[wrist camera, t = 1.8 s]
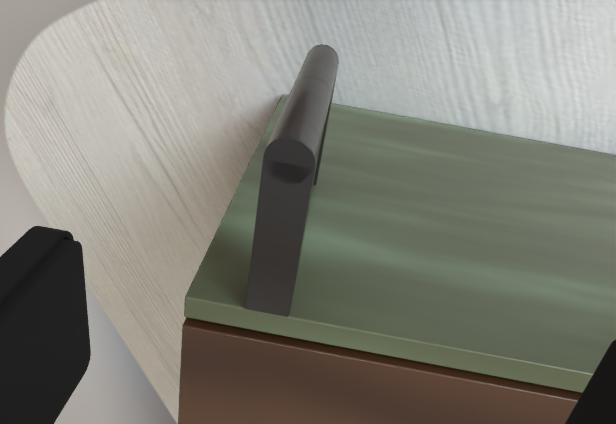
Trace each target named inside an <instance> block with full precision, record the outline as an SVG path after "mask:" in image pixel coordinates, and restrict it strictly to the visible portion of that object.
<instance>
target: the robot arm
mask: <svg viewBox="0 0 616 424" xmlns="http://www.w3.org/2000/svg"><path fill="white" fill-rule="evenodd" d="M89 361H90V339H89V326H88V315H87V303H86V290H85V278H84V265H83V253H82V246H81V244H80V242H78V241H74V240H73V236H72V234H71V233H70V232H68V231H64V230H58V229H53V228H47V227H41V226H35V227H32V228H31V229H30V230H28V231H27V232H26V233H25V234H24V235H23V236H22V237H21V238H20V239H19V240H18V241H17V242H16V243H15V244H14V245H13V246H12V247H10V248H9V249H8V250H7V251H6V252H5V253H4V254H3V255H2V256H1V257H0V424H54V422H55V421H56V419H57V417H58V416H59V414H60V413H61V411H62V409H63V408H64V405H65V404H66V403H67V401H68V400H69V398H70V396H71V395H72V393H73V391H74V390H75V388H76V387H77V385H78V383H79V382H80V380H81V379H82V377H83V375H84V374H85V372H86V370H87V367H88V364H89ZM565 424H616V340H614V341H613V342H612V343H611V344H610V346H609V348H608V349H607V351H606V353H605V355H604V356H603V358H602V360H601V362H600V363H599V365H598V367H597V369H596V370H595V372H594V374H593V376H592V377H591V379H590V381H589V382H588V384H587V386H586V388H585V389H584V391H583V393H582V395H581V396H580V398H579V400H578V402H577V403H576V405H575V407H574V409H573V410H572V412H571V414H570V416H569V417H568V419H567V421H566V423H565Z"/></svg>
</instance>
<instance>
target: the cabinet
mask: <svg viewBox="0 0 616 424" xmlns="http://www.w3.org/2000/svg"><path fill="white" fill-rule="evenodd" d="M581 395H582V393H581V392H575V391H570V390H565V389H560V388H554V387H549V386H544V385H539V384H533V383H528V382H523V381H518V380H512V379H507V378H502V377H497V376H491V375H486V374H481V373H476V372H470V371H465V370H460V369H455V368H449V367H444V366H439V365H434V364H428V363H423V362H418V361H413V360H407V359H402V358H397V357H392V356H386V355H381V354H376V353H371V352H366V351H360V350H355V349H350V348H345V347H339V346H334V345H329V344H324V343H318V342H313V341H308V340H303V339H297V338H292V337H287V336H282V335H276V334H271V333H266V332H261V331H255V330H250V329H245V328H240V327H234V326H229V325H224V324H219V323H213V322H208V321H203V320H198V319H192V318H187V317H186V319H185V322H184V324H183V328H182V350H181V372H180V395H179V417H178V424H565V423H566V421H567V419H568V417H569V416H570V414H571V412H572V410H573V409H574V407H575V405H576V403H577V402H578V400H579V398H580V396H581Z"/></svg>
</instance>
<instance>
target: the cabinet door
mask: <svg viewBox="0 0 616 424" xmlns="http://www.w3.org/2000/svg"><path fill="white" fill-rule="evenodd" d="M338 64H339V59H338V55H337V53H336V51H335V50H334V49H333V48H332V47H330V46H328V45H323V44H321V45H316V46H314V47H313V48H312V49H311V50H310V51H309V52H308V54H307V56H306V59H305V61H304V63H303V65H302V68H301V70H300V72H299V74H298V77H297V79H296V81H295V83H294V86H293V88H292V90H291V92H290V95H284V94H283V95H282V96H281V98H280V101H279V103H278V105H277V107H276V109H275V111H274V113H273V115H272V117H271V119H270V121H269V123H268V126H267V128H266V130H265V132H264V134H263V136H262V138H261V140H260V142H259V144H258V146H257V148H256V151H255V153H254V155H253V157H252V159H251V161H250V163H249V165H248V167H247V169H246V171H245V173H244V176H243V178H242V180H241V182H240V184H239V186H238V188H237V190H236V192H235V194H234V196H233V198H232V201H231V203H230V205H229V207H228V209H227V211H226V213H225V215H224V217H223V219H222V221H221V223H220V226H219V228H218V230H217V232H216V234H215V236H214V238H213V240H212V242H211V244H210V246H209V248H208V250H207V253H206V255H205V257H204V259H203V261H202V263H201V265H200V267H199V269H198V271H197V273H196V275H195V278H194V280H193V282H192V284H191V286H190V288H189V290H188V292H187V294H186V296H185V310H184V316H185V317H187V318H192V319H198V320H203V321H208V322H213V323H219V324H224V325H229V326H234V327H240V328H245V329H250V330H255V331H261V332H266V333H271V334H276V335H282V336H287V337H292V338H297V339H303V340H308V341H313V342H318V343H324V344H329V345H334V346H339V347H345V348H350V349H355V350H360V351H366V352H371V353H376V354H381V355H386V356H392V357H397V358H402V359H407V360H413V361H418V362H423V363H428V364H434V365H439V366H444V367H449V368H455V369H460V370H465V371H470V372H476V373H481V374H486V375H491V376H497V377H502V378H507V379H512V380H518V381H523V382H528V383H533V384H539V385H544V386H549V387H554V388H560V389H565V390H570V391H575V392H581V393H583V391H584V389H585V388H586V386H587V384H588V382H589V381H590V379H591V377H592V376H593V374H594V372H595V370H596V369H597V367H598V365H599V363H600V362H601V360H602V358H603V356H604V355H605V353H606V351H607V349H608V348H609V346H610V344H611V343H612V342H613V341H614V340H616V155H611V154H606V153H600V152H595V151H589V150H584V149H578V148H573V147H567V146H562V145H556V144H551V143H546V142H540V141H535V140H529V139H524V138H518V137H513V136H507V135H502V134H496V133H491V132H485V131H480V130H475V129H469V128H464V127H458V126H453V125H447V124H442V123H436V122H431V121H425V120H420V119H415V118H409V117H404V116H398V115H393V114H387V113H382V112H376V111H371V110H365V109H360V108H355V107H349V106H344V105H338V104H333V103H332V97H333V92H334V86H335V80H336V75H337V69H338Z"/></svg>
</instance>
